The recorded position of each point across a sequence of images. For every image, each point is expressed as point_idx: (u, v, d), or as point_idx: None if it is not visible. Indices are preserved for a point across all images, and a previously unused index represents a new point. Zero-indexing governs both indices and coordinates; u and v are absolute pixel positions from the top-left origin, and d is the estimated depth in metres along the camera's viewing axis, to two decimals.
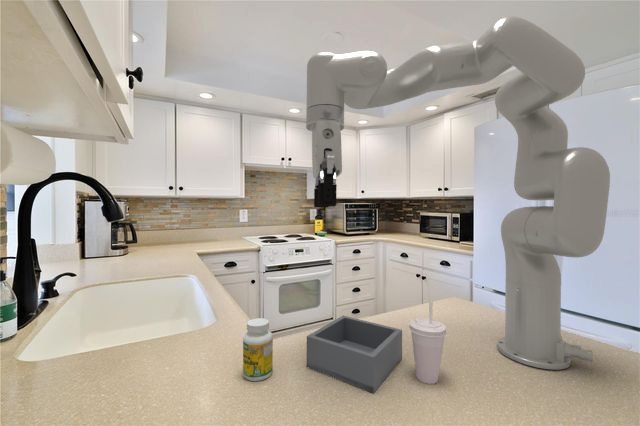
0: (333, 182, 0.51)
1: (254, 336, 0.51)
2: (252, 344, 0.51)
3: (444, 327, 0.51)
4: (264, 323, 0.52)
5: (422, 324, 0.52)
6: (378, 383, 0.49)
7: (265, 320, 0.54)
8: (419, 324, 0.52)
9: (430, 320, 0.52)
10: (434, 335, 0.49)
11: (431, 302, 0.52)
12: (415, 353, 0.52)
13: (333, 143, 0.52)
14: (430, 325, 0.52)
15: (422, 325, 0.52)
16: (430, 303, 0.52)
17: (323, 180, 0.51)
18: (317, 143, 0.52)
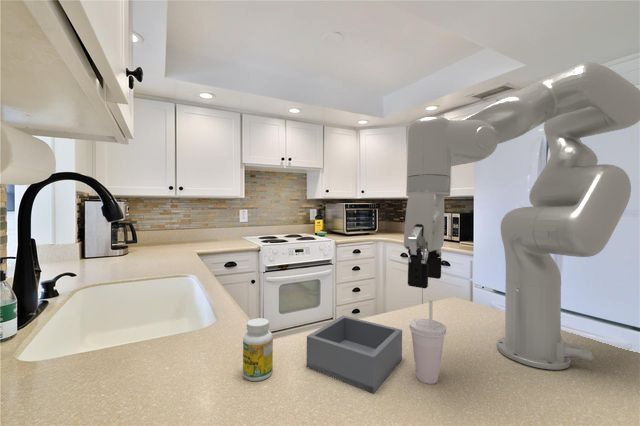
0: None
1: (254, 336, 0.51)
2: (252, 344, 0.51)
3: (444, 327, 0.51)
4: (264, 323, 0.52)
5: (422, 324, 0.52)
6: (378, 383, 0.49)
7: (265, 320, 0.54)
8: (419, 324, 0.52)
9: (430, 320, 0.52)
10: (434, 335, 0.49)
11: (431, 302, 0.52)
12: (415, 353, 0.52)
13: None
14: (430, 325, 0.52)
15: (422, 325, 0.52)
16: (430, 303, 0.52)
17: None
18: None
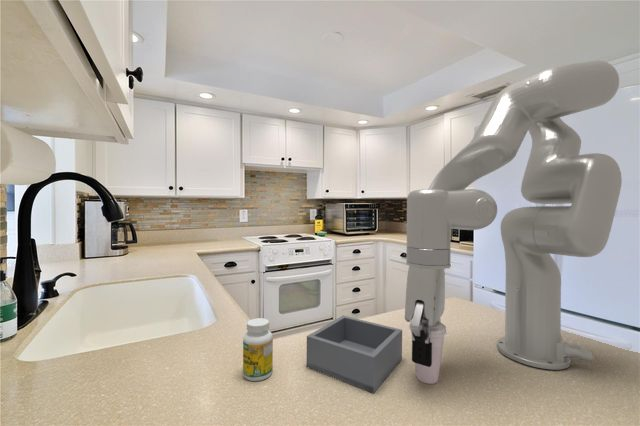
0: None
1: (254, 336, 0.51)
2: (252, 344, 0.51)
3: (444, 327, 0.51)
4: (264, 323, 0.52)
5: None
6: (378, 383, 0.49)
7: (265, 320, 0.54)
8: None
9: None
10: (434, 335, 0.49)
11: None
12: None
13: None
14: None
15: None
16: None
17: None
18: None
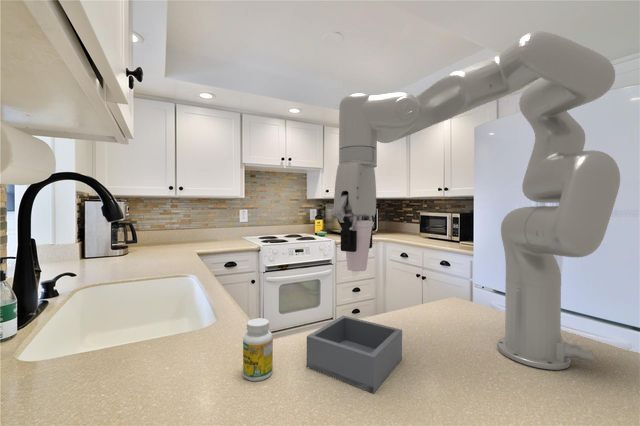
0: None
1: (254, 336, 0.51)
2: (252, 344, 0.51)
3: (371, 221, 0.56)
4: (264, 323, 0.52)
5: None
6: (378, 383, 0.49)
7: (265, 320, 0.54)
8: (350, 220, 0.57)
9: (359, 216, 0.57)
10: (359, 224, 0.54)
11: None
12: None
13: None
14: (359, 220, 0.57)
15: None
16: None
17: None
18: (375, 189, 0.60)
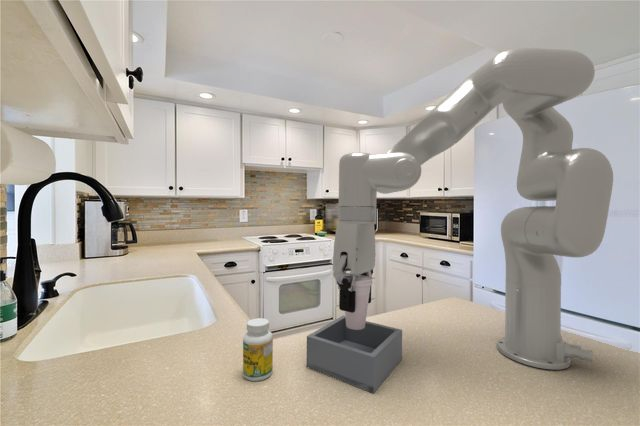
0: None
1: (254, 336, 0.51)
2: (252, 344, 0.51)
3: (370, 279, 0.56)
4: (264, 323, 0.52)
5: None
6: (378, 383, 0.49)
7: (265, 320, 0.54)
8: (348, 277, 0.57)
9: None
10: (358, 284, 0.54)
11: None
12: None
13: None
14: (358, 277, 0.57)
15: None
16: None
17: None
18: None
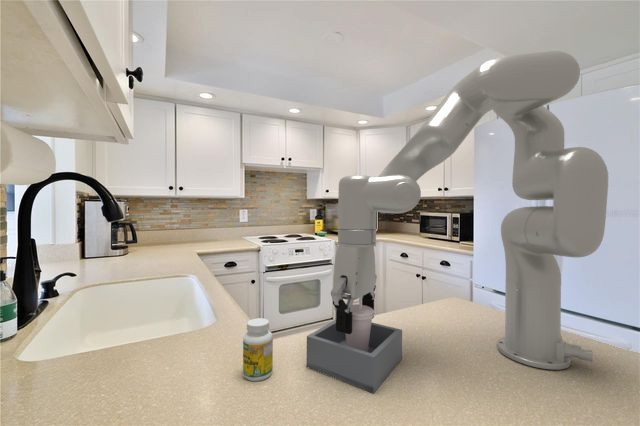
0: None
1: (254, 336, 0.51)
2: (252, 344, 0.51)
3: (371, 311, 0.56)
4: (264, 323, 0.52)
5: (353, 309, 0.57)
6: (378, 383, 0.49)
7: (265, 320, 0.54)
8: None
9: (360, 305, 0.57)
10: (360, 318, 0.54)
11: None
12: (346, 335, 0.57)
13: None
14: (359, 309, 0.57)
15: (352, 310, 0.57)
16: None
17: None
18: None
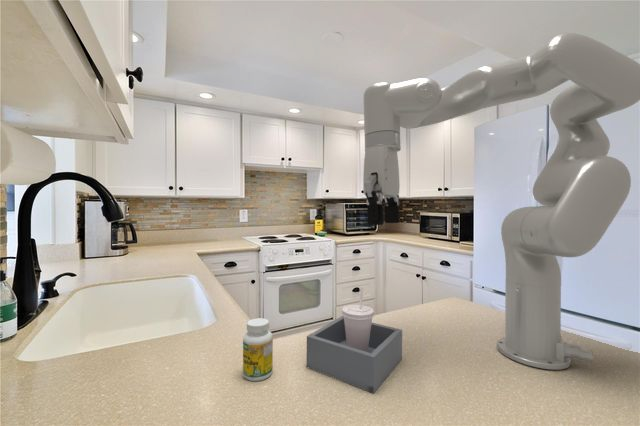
0: None
1: (254, 336, 0.51)
2: (252, 344, 0.51)
3: (372, 311, 0.56)
4: (264, 323, 0.52)
5: (353, 309, 0.57)
6: (378, 383, 0.49)
7: (265, 320, 0.54)
8: (350, 309, 0.57)
9: (360, 305, 0.57)
10: (360, 318, 0.54)
11: (361, 288, 0.57)
12: (346, 335, 0.57)
13: None
14: (359, 309, 0.57)
15: (352, 310, 0.57)
16: (360, 289, 0.57)
17: None
18: None
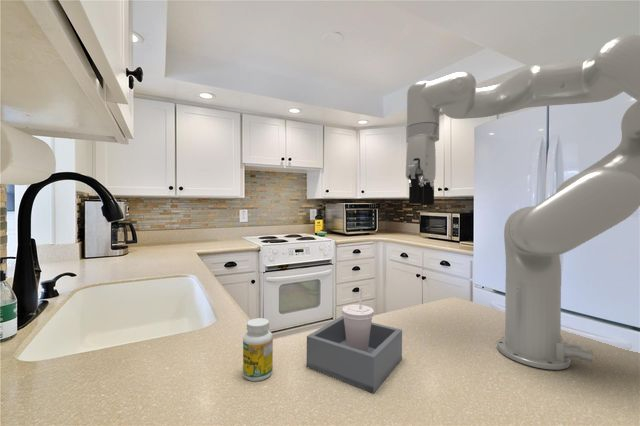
0: None
1: (254, 336, 0.51)
2: (252, 344, 0.51)
3: (371, 311, 0.56)
4: (264, 323, 0.52)
5: (352, 309, 0.57)
6: (378, 383, 0.49)
7: (265, 320, 0.54)
8: (350, 309, 0.57)
9: (360, 305, 0.57)
10: (360, 318, 0.54)
11: (360, 288, 0.57)
12: (346, 335, 0.57)
13: None
14: (359, 309, 0.57)
15: (352, 310, 0.57)
16: (360, 289, 0.57)
17: None
18: None
